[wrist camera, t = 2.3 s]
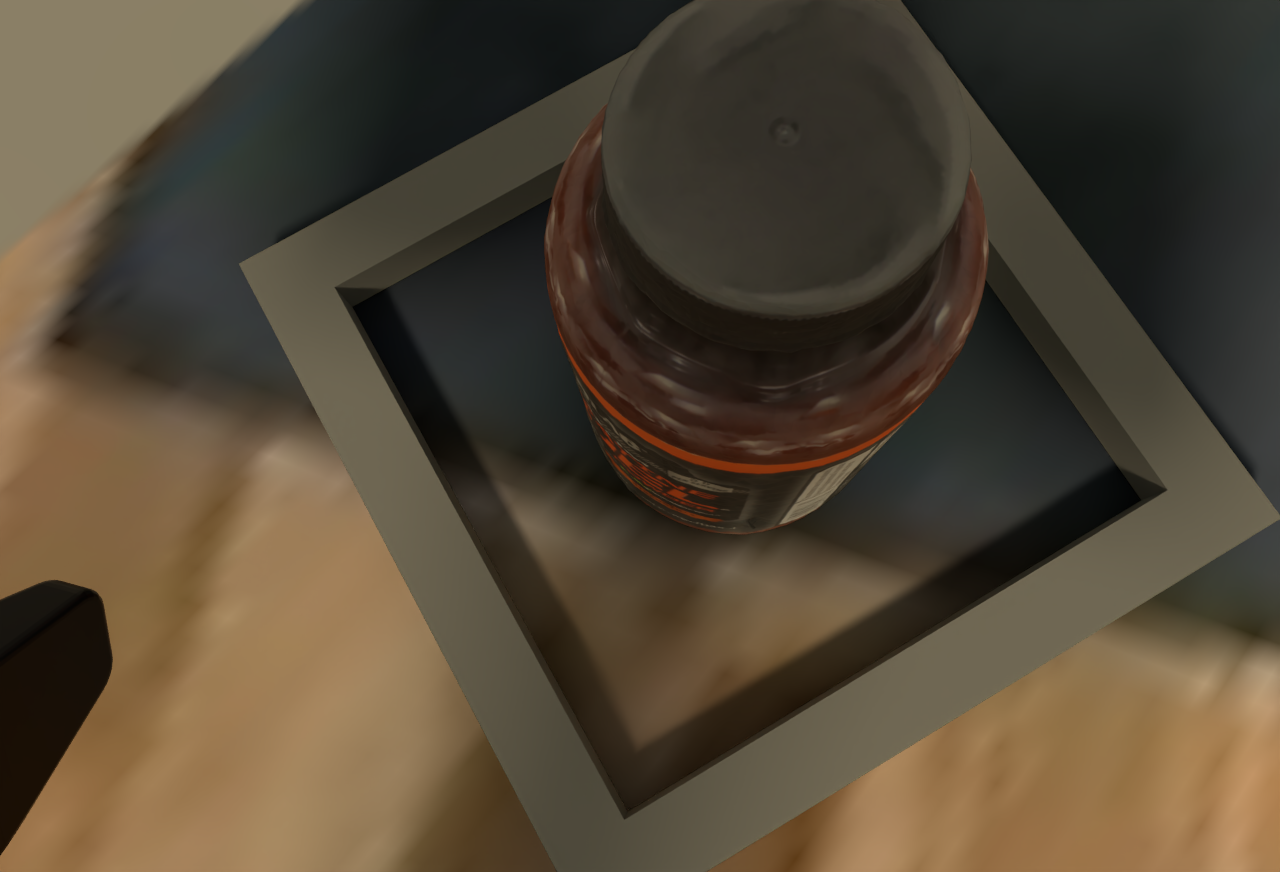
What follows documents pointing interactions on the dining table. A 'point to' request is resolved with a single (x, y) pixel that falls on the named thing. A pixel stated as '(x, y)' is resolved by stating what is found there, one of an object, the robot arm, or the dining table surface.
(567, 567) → the dining table surface
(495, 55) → the dining table surface
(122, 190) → the dining table surface
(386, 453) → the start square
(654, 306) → the supplement bottle
